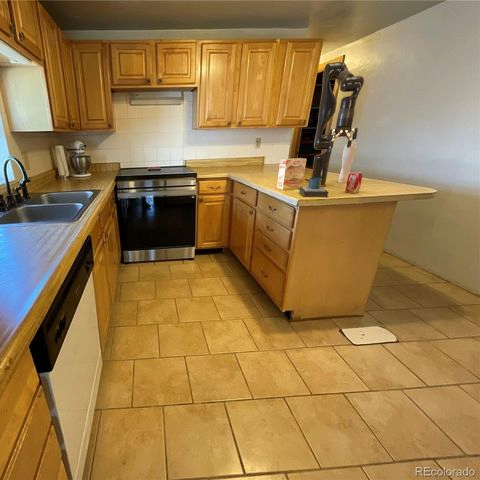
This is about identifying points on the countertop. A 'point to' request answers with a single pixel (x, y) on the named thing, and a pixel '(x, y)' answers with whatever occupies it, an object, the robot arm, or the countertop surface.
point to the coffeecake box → (291, 173)
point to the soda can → (353, 182)
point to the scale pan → (313, 189)
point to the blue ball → (314, 183)
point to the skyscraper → (347, 162)
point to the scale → (314, 193)
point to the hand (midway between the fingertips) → (339, 147)
